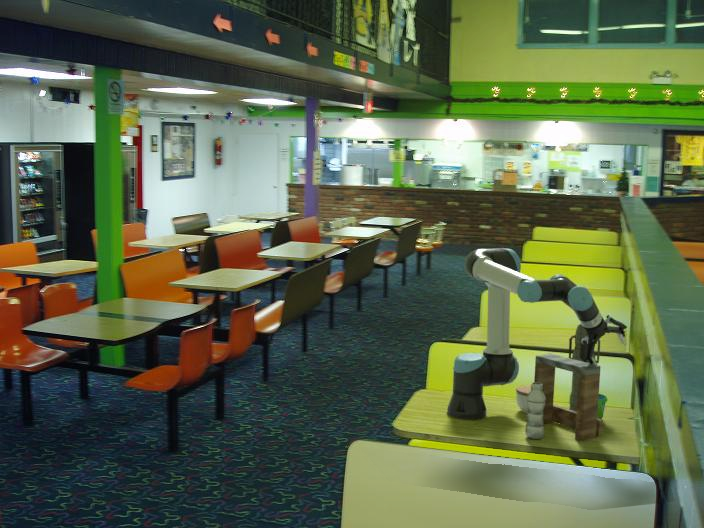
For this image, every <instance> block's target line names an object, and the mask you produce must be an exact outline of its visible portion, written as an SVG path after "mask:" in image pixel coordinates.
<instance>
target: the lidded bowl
mask: <svg viewBox="0 0 704 528" xmlns="http://www.w3.org/2000/svg"><path fill="white" fill-rule="evenodd" d="M531 387H532V384H531V385H520V386H517V387H516V388H515V394H516V395H515V398H516V404H517V407H518V408H519V409H520V410H521V412H522V413H523V412H524V414H525V415H526V414H527V415H528V406H527V395H528V394H529V392H530V391H531V390H532V388H531Z"/></svg>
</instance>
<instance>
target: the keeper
mask: <svg viewBox="0 0 704 528" xmlns="http://www.w3.org/2000/svg"><path fill="white" fill-rule="evenodd" d="M534 360H535V363H534V365H535V366H534V382H538V383H542V384H543V386H542V387H543V389H542V392H543V393H544V395H545V398H546V401H545V406H544V413H543V426H544V425H549V424H553V423H555V422H556V424H558V423H560V424H559V425H561V424H562V426H564V425H565V426H564V427H567V426H568V428H570V427H571V428H570V429H573V430H574V429H575V432H574V433H575V434H574V440H576V441H580V442H585V441H588V440H592V439H596V438H597V437H598V438H599V437H602V436H603V428H604V427H603V423H604V419H603V418H602V419H598V418H597V413H598V398H599V394H600V393H599V392H600V380H601V368H602V367H601V365H599V364H597V365H594V364H590V363H586V362H582V361H578V360H574V359H570V358H569V357H565V356H562V355H557V354H555V353H545V354H538V355H535V359H534ZM556 368H557V369H560V370H564V371H568V372H571V373H573V372H575V373H579V382H578V398H577V412H576V411H573V410H570V409H569V408H565V407H563V406H559V405H556V404H554V399H555V397H554V396H555V382H556V381H555V380H556V379H555V377H556Z"/></svg>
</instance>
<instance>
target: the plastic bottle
mask: <svg viewBox="0 0 704 528" xmlns="http://www.w3.org/2000/svg"><path fill="white" fill-rule="evenodd" d="M531 385H532V387H531V388H532V390H531V391H530V392H529V394H528V395H527V406H528V414H527V418H526V425H525V430H524V431H525V433H524V434H525V436H526V437H527V438H528V439H532V440H533V439H534V440H540V439H542V438H543V437H544V435H545V426H544V425H543V413H544V406H545V401H546V398H545V395H544V393H543V392H542V389H543V387H542V386H543V384H542V383H538V382H532V383H531Z"/></svg>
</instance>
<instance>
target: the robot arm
mask: <svg viewBox="0 0 704 528" xmlns="http://www.w3.org/2000/svg"><path fill="white" fill-rule="evenodd" d="M521 269H522V263H521V259H520V256H519V254H517V252H516V251H515V250H513V249H511V248H504V247H498V248H497V247H496V248H494V247H493V248H477V249H474V250H473V251H471V252H469V253H468V254H467V256H466V258H465V260H464V270H465V272H466V273H467V275H468V276H469V277H471V278H473V279H474V280H476V281H479V282H484V284H485V285H486V286H487V321H486V322H487V326H486V327H487V328H486V329H487V330H486V333H487V335H486V347H485V348H484V349H483V350H482V353H479V352H472V353H471V352H468V353H467V352H466V353H462V354H459V355H457V356H456V357H455V358H454V361H453V367H452V368H453V369H452V370H453V377H452V378H453V380H452V395H451V397H450V400H449V403H448V405H447V411H446V412H447V415H448V416H450V417H452V418H456V419H459V420H461V419H462V420H468V421H469V420H473V421H474V420H481V419H484V418H486V417H487V407H486V403H485V399H484V388H485V387H493V386H505V385H507V384H512V383H513V382H514V381H515V380H516V379H517V377H518V375H519V371H520V365H519V362H518V358H517V357H516V356H515V355H514V354H513V353H514V351H513V349H511V348H510V320H511V318H510V316H511V315H510V314H511V313H510V312H511V310H510V309H511V307H510V306H511V293H513V294H515V295H517V297H518V298H519V300H520V301H521V302H522V303H530V304H533V303H541V302H558V301H560V302H563V303H564V304H565V305H566V306H567V307H568V308H570V309H571V310H572V311H573V312H574V314H575V315H576V317H577V319H578V321H579V323H580V324H581V325H582V326H583V328H584V330H585V332H586V337H584V338H582V337H581V338H580V342H581V348H580V359H581V360H583V361H584V362H587V361H588V362H589V363H590V364H594V365H598V363H596V361H597V360H596V358H595V359H594V358H593V357H592V354H593V351H594V352H595V347H596V345H598V340H600V339H601V338H602V337H603V336H605V335H606V334H611V333H612V334H616V335H617V337H618V341H619V342H620V343H621V344H623V345H624V346H627V345H628V344H627V341H626V340H625V338H626V334H625V333H626V332H625V331H624V330H626V329H627V328H628V326H627V325H626V324H624V323H623V322H621V321H619V320H616V319H615V318H613V317H612V316H611V315H609V314H607V315H606V319H604V317H603V315H602V314H601V311H600V309H599V308H598V306H597V303H596V301H595V299H594V297H593V295H592V293H591V292H590V291H589V289H588V288H587V287H585V286H581V285H580V286H579V285H578V284H576V283H575V282H574V281H572V280H571V279H570V278H569V277H568V276H565V275H563V274H561V273H557V274H555V275H553V276H551V277H550V278H549V279H536V278H534V277H531V276H530V275H526V274H524V273H521ZM608 324H613V325H614V326H610V325H609V326H608ZM595 360H596V361H595Z"/></svg>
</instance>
